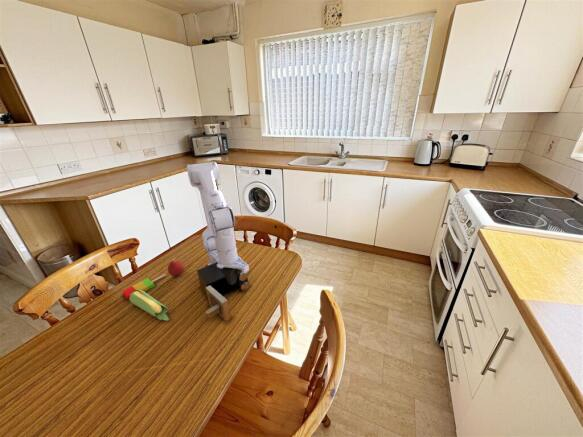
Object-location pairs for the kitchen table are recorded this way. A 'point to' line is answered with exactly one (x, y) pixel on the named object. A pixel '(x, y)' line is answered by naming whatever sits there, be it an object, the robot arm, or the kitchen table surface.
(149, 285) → the popsicle
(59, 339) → the kitchen table surface
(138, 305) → the edible corn
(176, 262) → the onion
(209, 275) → the microwave
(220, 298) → the door
